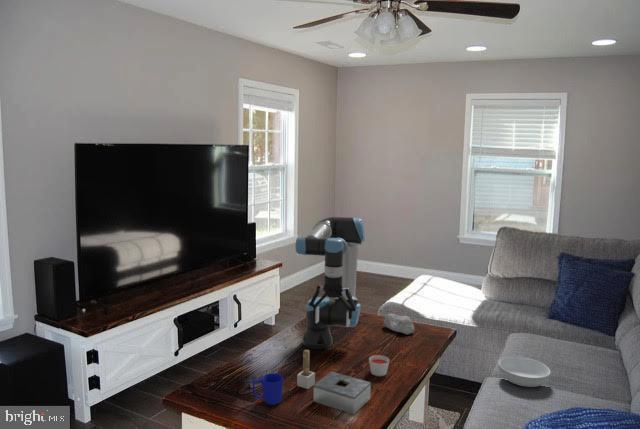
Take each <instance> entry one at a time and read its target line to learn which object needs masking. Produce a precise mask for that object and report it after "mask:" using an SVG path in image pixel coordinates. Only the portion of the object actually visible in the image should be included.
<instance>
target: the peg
mask: <svg viewBox="0 0 640 429" xmlns="http://www.w3.org/2000/svg"><path fill="white" fill-rule="evenodd" d="M302 351H303V352H302V355H303V356H302V359H303V360H302V371H303V375H304V376H307V377H308V376H309V371H310V353H311V352H310V349H304V350H302Z"/></svg>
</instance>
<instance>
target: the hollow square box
mask: <svg viewBox="0 0 640 429" xmlns="http://www.w3.org/2000/svg"><path fill="white" fill-rule="evenodd" d="M296 375H297V376H296V378H297V379H296V380H297V381H296V386H297V387H301V388H303V389H306V390H309V389H311V388H312V387H314V384H316V372H313V371H310V370H309V376H308V377H307V376H304V375H303V370H302V371H300V372H299V373H298V374H296Z"/></svg>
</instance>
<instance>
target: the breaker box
mask: <svg viewBox="0 0 640 429" xmlns="http://www.w3.org/2000/svg"><path fill="white" fill-rule="evenodd" d="M371 383H372V382H370V381H367V380H363V379H359V378H357V377H356V378H355V377H353V376H349V375H345V374H341V373H338V372H335V371H330V372H329V373H328V374H326V375H325V376H323V377H322V378H321V379H320V380H318V381H317V382H315V384H314V385H313V402H314V403H317V404H321V405H324V406H327V407H329V408H332V409H336V410H339V411H342V412H345V413H348V414H352V415H355V414H356V413H357V412H358V411H359V410H360V409H361V408H362V407H363V406H365V404H367V403H368V402H369V400H371V385H372V384H371ZM340 385H341V386H344V387H341V386H340Z"/></svg>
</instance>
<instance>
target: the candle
mask: <svg viewBox="0 0 640 429" xmlns="http://www.w3.org/2000/svg"><path fill="white" fill-rule="evenodd" d="M368 361H369V362H368V363H369V368H370V374H372V375H374V376H376V377H384V376H386V375H387V373H388V369H389V364H390V358H389V357H387V356H385V355H378V354H377V355H376V354H375V355H372V356H370V357H369V358H368Z"/></svg>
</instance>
